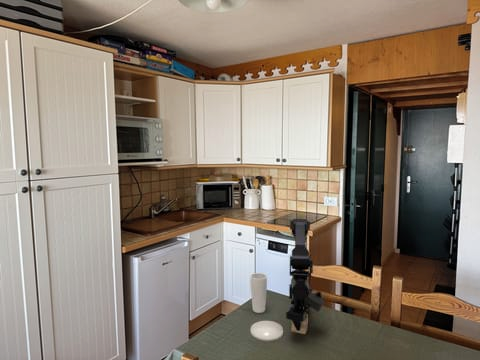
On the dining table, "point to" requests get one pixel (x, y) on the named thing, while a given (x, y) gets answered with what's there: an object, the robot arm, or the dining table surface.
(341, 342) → the dining table surface
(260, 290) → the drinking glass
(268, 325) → the plate
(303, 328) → the oak block
